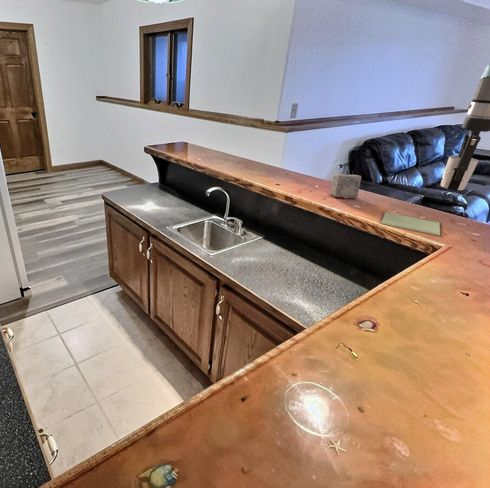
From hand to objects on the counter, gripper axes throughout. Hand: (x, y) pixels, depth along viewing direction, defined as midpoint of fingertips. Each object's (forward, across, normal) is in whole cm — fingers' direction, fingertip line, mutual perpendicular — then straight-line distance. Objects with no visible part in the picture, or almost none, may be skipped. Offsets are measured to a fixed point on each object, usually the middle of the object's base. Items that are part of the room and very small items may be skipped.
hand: (452, 186), depth 121 cm
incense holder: (+16, -17, -35) cm, 42 cm away
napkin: (+16, +1, -8) cm, 17 cm away
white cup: (0, 0, 0) cm, 0 cm away
